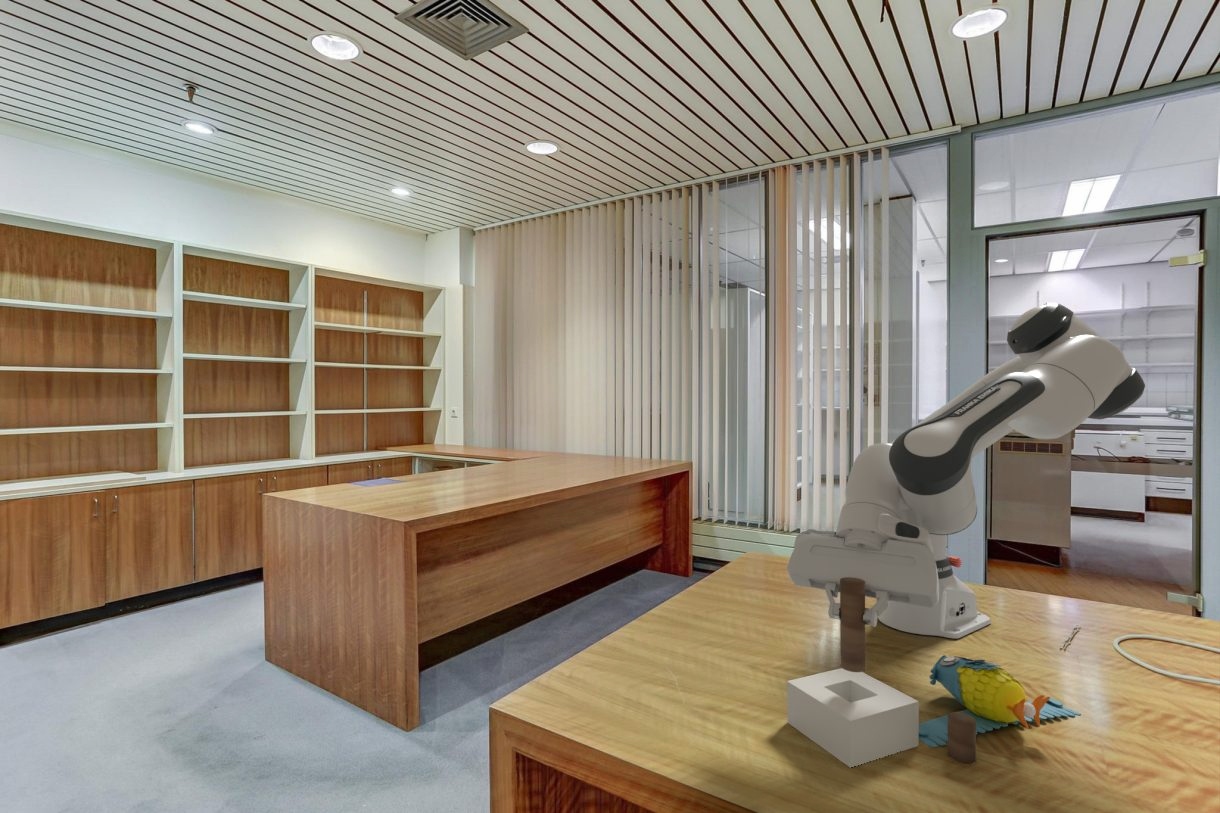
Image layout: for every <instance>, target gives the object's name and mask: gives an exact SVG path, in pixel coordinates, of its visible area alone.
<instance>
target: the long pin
mask: <svg viewBox="0 0 1220 813" xmlns="http://www.w3.org/2000/svg"><path fill="white" fill-rule="evenodd" d="M839 598H840V599H839V603H840V620H839V622H840V623H839V624H840V627H839V628H840V629H839V630H840V631H839V632H840V633H839V636H840V638H839V639H840V642H839V643H840V644H839V645H840V646H839V647H840V648H839V649H840V653H839V654H840V657H839V658H840V663H839V664H840V668H843V669H844V670H847V671H850V672H863V673H864V671H866V625H865V624H864V622H863V615H864V610H865V608H866V597H865V581H864V580H862V579H859V578H852V577H845V578H841V579H840V592H839Z"/></svg>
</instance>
